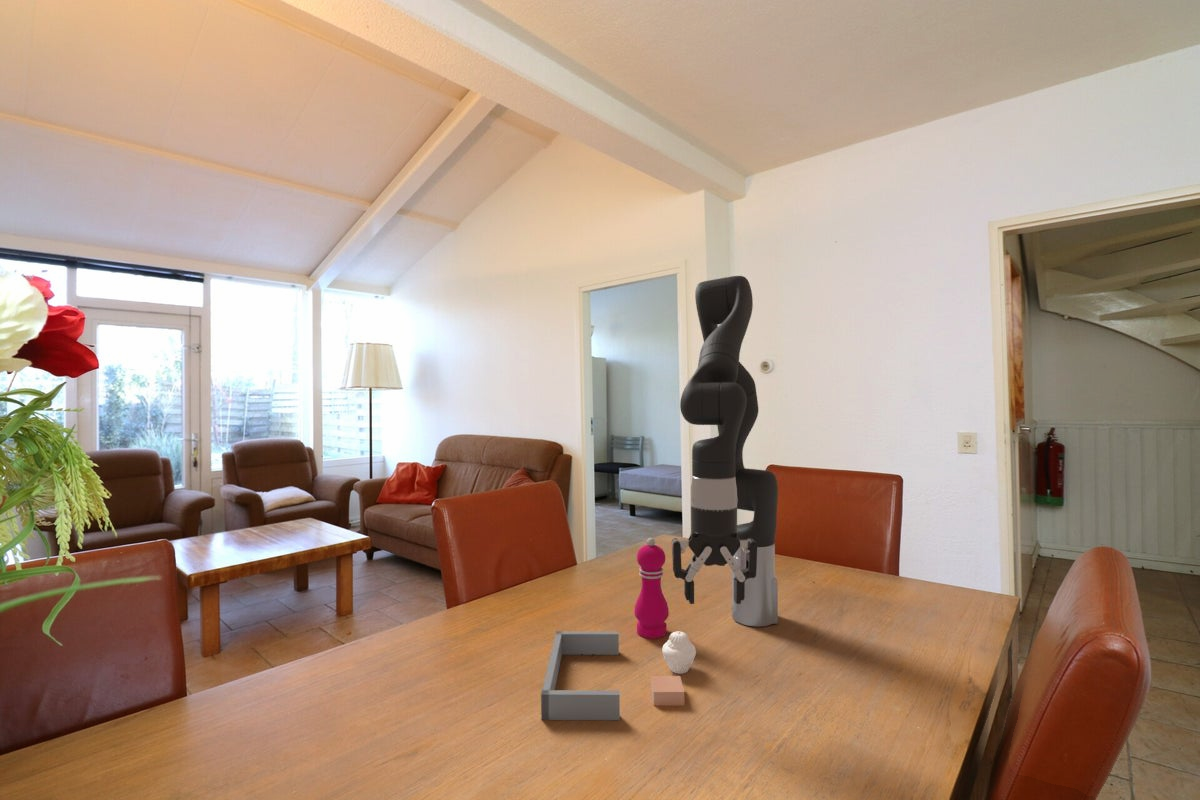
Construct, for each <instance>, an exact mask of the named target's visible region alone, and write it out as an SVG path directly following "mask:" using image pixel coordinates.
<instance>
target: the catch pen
mask: <svg viewBox="0 0 1200 800" xmlns="http://www.w3.org/2000/svg"><path fill="white" fill-rule="evenodd" d="M619 633H620V632H619V631H596V630H595V631H589V630H588V631H584V630H583V631H577V630H576V631H574V630H573V631H572V630H571V631H567V630H566V631H563V630H562V631H559V630H558V631H555V636H554V639H553V644H552V648H551V652H550V657H549V660H548V665H547V668H546V672H545V677H544V680H543V685H542V688H541V694H540V701H541V702H540V703H541V704H540V706H541V707H540V711H541V712H540V715H541V716H540V717H541V719H540V720H542V721H543V720H544V721H545V720H546V721H553V720H554V721H621V720H620V719H621V718H620V717H621V714H620V713H621V712H620V709H621V707H620V704H621V703H620V702H621V701H620V694H621V693H620V690H597V689H596V690H590V689H589V690H588V689H587V690H585V689H584V690H581V689H579V690H576V689H575V690H574V689H573V690H571V689H570V690H569V689H565V690H563V689H562V690H561V689H558V690H556V687H557V681H558V678H559V677H558V676H559V671H560V666H561V662H562V657H563V655H565V656H566V655H567V656H575V655H579V656H580V655H581V654H583V655H585V656H586V655H589V656H590V655H591V656H592V654H594V655H597V656H603V655H606V656H607V655H609V656H611V655H612V656H613V655H615V656H618V655H620V651H619V650H620V649H619V648H620V646H619V644H620V640H619V638H620V637H619ZM583 655H582V656H583Z"/></svg>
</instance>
